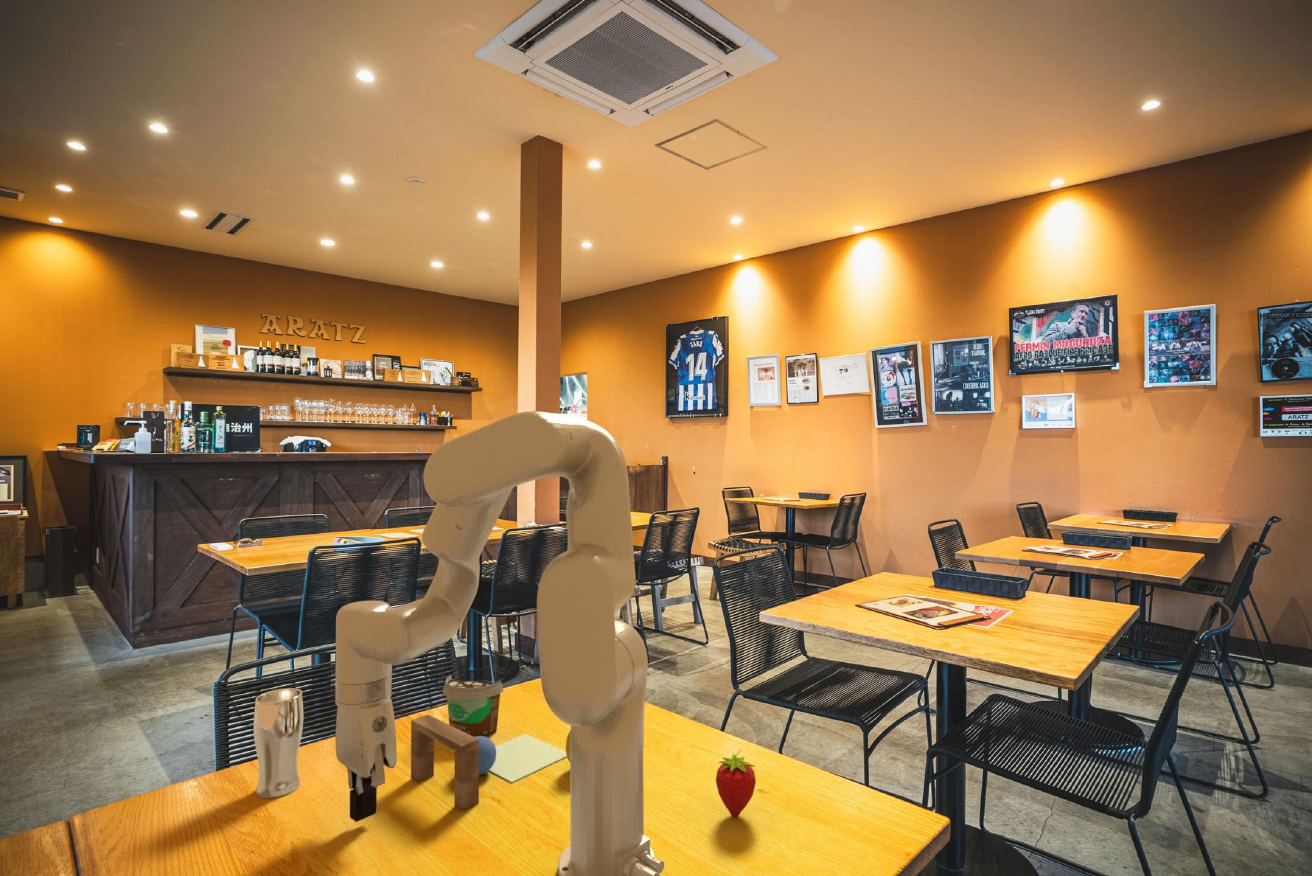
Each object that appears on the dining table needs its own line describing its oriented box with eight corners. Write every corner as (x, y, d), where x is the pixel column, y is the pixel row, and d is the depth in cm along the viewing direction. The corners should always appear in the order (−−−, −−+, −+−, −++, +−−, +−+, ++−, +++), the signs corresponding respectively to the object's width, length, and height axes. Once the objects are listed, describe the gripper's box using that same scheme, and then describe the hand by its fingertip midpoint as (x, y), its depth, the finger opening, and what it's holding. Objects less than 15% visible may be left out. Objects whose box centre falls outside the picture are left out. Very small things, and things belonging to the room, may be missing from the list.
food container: (429, 738, 123) (429, 685, 123) (448, 725, 129) (448, 674, 129) (486, 746, 119) (486, 691, 119) (503, 732, 125) (503, 680, 125)
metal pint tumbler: (243, 793, 103) (244, 698, 103) (285, 774, 109) (286, 684, 109) (269, 804, 100) (270, 706, 100) (312, 784, 106) (312, 691, 106)
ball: (486, 786, 106) (509, 754, 110) (467, 763, 104) (491, 731, 108) (465, 779, 110) (488, 748, 114) (446, 756, 108) (470, 725, 112)
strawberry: (756, 804, 99) (756, 738, 99) (755, 832, 92) (755, 761, 92) (717, 801, 100) (717, 735, 100) (714, 829, 93) (713, 758, 93)
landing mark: (571, 754, 116) (571, 753, 116) (511, 782, 106) (511, 781, 106) (525, 734, 124) (525, 733, 124) (466, 758, 114) (466, 757, 114)
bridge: (427, 771, 110) (427, 714, 110) (478, 802, 100) (479, 739, 100) (410, 778, 107) (411, 719, 108) (461, 810, 98) (461, 746, 98)
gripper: (414, 693, 92) (413, 823, 92) (365, 670, 102) (364, 788, 101) (362, 709, 86) (361, 848, 86) (315, 683, 96) (314, 808, 96)
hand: (363, 815), depth 94 cm, fingers closed
